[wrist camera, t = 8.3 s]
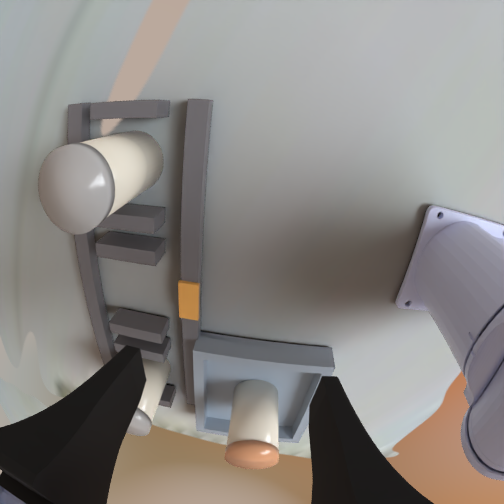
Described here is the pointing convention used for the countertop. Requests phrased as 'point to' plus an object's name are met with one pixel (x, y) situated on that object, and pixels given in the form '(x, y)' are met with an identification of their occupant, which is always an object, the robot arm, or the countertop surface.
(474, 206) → the countertop surface
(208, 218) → the countertop surface
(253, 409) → the cylinder
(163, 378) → the fuse
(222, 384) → the tray
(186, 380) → the clip rail
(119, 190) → the cream capsule cylinder
